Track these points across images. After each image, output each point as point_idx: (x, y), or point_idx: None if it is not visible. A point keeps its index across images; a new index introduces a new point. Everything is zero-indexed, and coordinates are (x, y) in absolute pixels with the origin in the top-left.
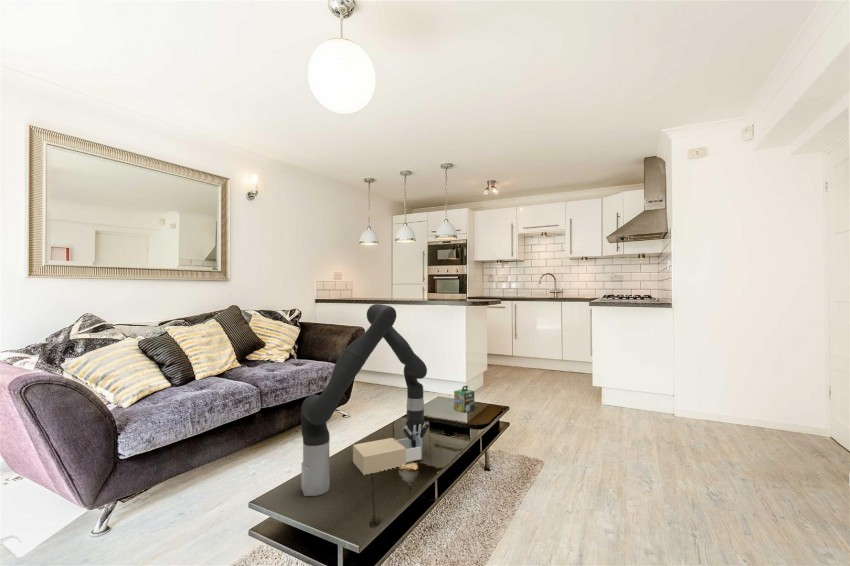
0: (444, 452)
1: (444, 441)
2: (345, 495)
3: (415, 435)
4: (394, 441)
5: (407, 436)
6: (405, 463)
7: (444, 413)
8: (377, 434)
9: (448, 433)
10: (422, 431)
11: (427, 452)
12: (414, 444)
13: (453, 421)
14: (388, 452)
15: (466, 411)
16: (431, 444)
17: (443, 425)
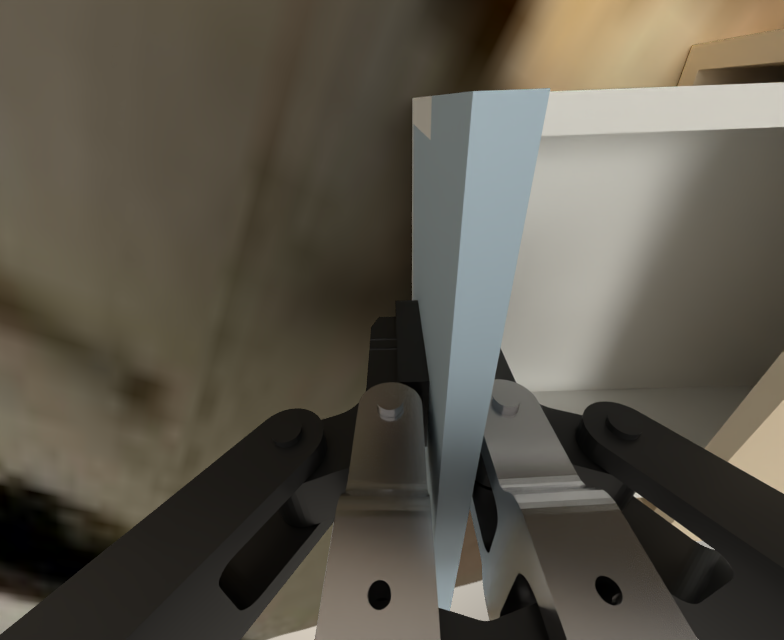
0: (61, 224)
1: (62, 428)
2: None
3: (464, 483)
4: (766, 462)
5: (748, 483)
6: (729, 38)
7: None
8: (465, 583)
9: (30, 508)
10: (234, 565)
11: (264, 302)
12: None
13: (4, 590)
14: None
15: None
16: (188, 420)
17: (70, 575)
